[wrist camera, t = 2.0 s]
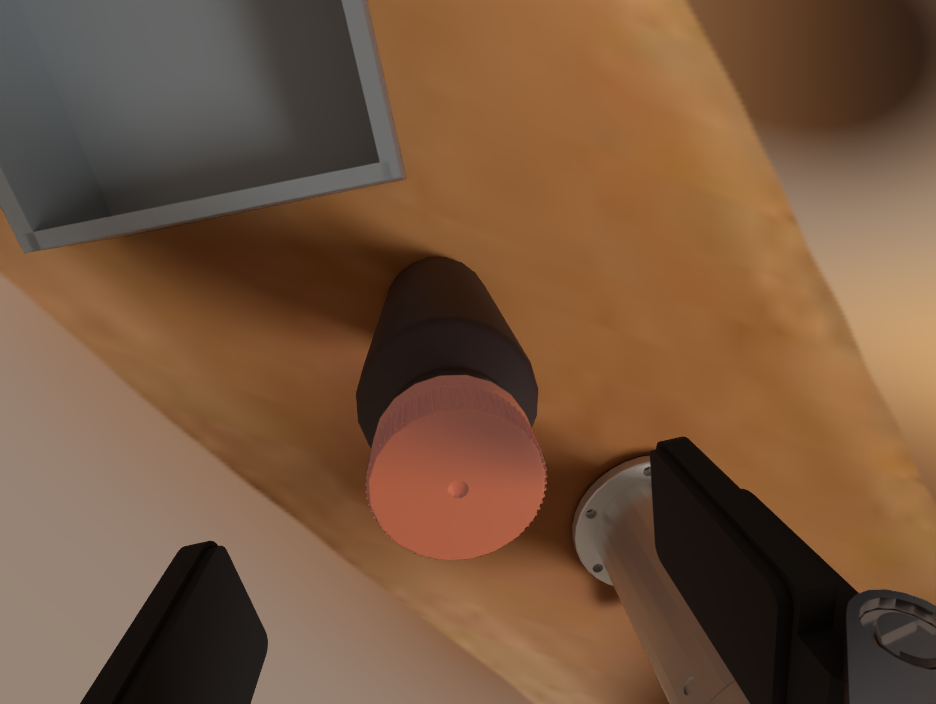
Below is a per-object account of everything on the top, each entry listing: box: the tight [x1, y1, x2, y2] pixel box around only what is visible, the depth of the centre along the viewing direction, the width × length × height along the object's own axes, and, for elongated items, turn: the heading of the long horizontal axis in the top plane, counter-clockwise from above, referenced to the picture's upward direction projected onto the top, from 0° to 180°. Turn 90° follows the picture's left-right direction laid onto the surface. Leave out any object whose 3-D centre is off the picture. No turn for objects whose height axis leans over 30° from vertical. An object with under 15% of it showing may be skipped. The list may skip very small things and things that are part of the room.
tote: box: [0, 0, 406, 253], centre depth 22 cm, size 18×18×7 cm
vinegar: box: [356, 258, 548, 561], centre depth 22 cm, size 7×7×20 cm
